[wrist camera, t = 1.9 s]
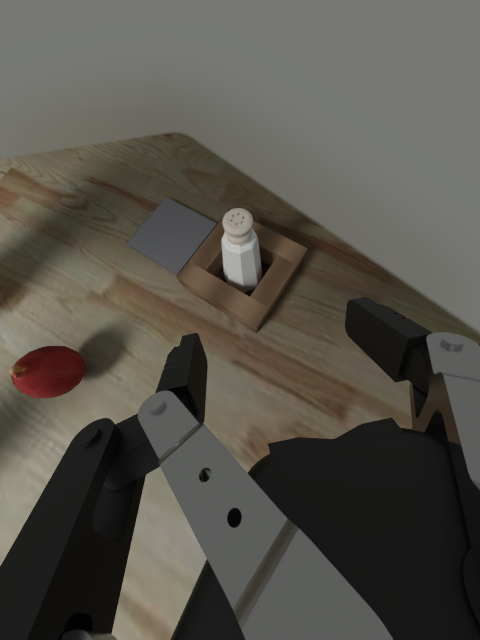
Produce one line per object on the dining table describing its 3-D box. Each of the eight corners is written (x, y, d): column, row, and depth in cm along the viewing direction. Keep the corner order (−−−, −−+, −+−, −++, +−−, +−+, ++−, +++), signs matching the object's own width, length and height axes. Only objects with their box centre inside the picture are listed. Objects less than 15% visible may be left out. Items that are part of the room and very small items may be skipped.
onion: (53, 394, 26) (-31, 403, 18) (63, 349, 27) (-11, 341, 20) (96, 394, 26) (29, 403, 18) (103, 349, 27) (44, 339, 19)
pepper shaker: (216, 277, 29) (195, 222, 18) (241, 252, 30) (235, 185, 19) (244, 301, 28) (239, 256, 17) (270, 274, 28) (280, 215, 18)
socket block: (185, 288, 29) (176, 277, 25) (231, 226, 31) (229, 209, 27) (256, 333, 26) (257, 327, 23) (301, 263, 29) (307, 248, 25)
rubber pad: (128, 245, 31) (126, 243, 31) (167, 200, 33) (166, 196, 32) (178, 276, 29) (177, 274, 29) (217, 226, 31) (216, 223, 30)
